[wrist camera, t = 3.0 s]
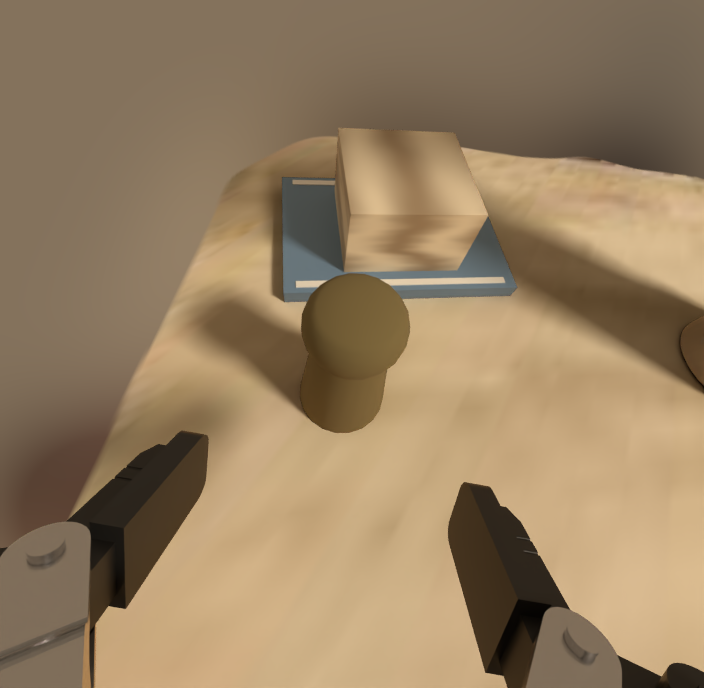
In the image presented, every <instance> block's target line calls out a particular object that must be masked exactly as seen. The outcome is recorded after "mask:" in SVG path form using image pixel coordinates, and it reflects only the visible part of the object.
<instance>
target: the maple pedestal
mask: <svg viewBox="0 0 704 688" xmlns="http://www.w3.org/2000/svg"><path fill="white" fill-rule="evenodd" d="M335 200H336V209H337V217H338V226H339V234H340V243H341V251H342V260H343V268H344V272H390V271H451V270H458V268H459V266H460V265H461V263H462V261H463V259H464V257H465V256H466V254H467V252H468V250H469V249H470V247H471V245H472V243H473V242H474V240H475V238H476V236H477V235H478V233H479V231H480V229H481V228H482V226H483V224H484V222H485V221H486V219H487V217H488V213H487V210H486V208H485V205H484V203H483V201H482V198H481V196H480V193H479V191H478V188H477V186H476V184H475V181H474V179H473V176H472V174H471V171H470V169H469V167H468V164H467V162H466V159H465V157H464V155H463V152H462V150H461V147H460V145H459V143H458V140H457V138H456V135H455V133H447V132H423V131H400V130H377V129H352V128H338V142H337V159H336V175H335Z"/></svg>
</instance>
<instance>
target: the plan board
mask: <svg viewBox="0 0 704 688" xmlns="http://www.w3.org/2000/svg"><path fill="white" fill-rule="evenodd" d="M282 215H283V294H284V301H285V302H302V301H308V299H309V297H310V295H311V294H312V293H313V292H314V291H315V290H316V289H317V288H318V287H319V286H320V285H321V284H323V283H324V282H326V281H328V280H330V279H332V278H334V277H335V276H339V275H344V274H348V273H358V274H366V275H370V276H373V277H377V278H379V279H380V280H382V281H384V282H385V283H387V284H389V285H390V286H391V287H392V288H393V289H394V290H395V291H396V292H397V293H398V294H399V295H400V297H401V298H402V299H409V298H445V297H480V296H510V295H511V294H512V293H513V292H514V291H515V289H516V288H517V286H516V283H515V281H514V278H513V276H512V273H511V271H510V269H509V266H508V264H507V261H506V259H505V256H504V254H503V252H502V249H501V247H500V244H499V242H498V239H497V237H496V234H495V232H494V230H493V227H492V225H491V222H490V220H489V217H487V219H486V221H485V222H484V224H483V226H482V228H481V229H480V231H479V233H478V235H477V236H476V238H475V240H474V242H473V243H472V245H471V247H470V249H469V250H468V252H467V254H466V256H465V257H464V259H463V261H462V263H461V265H460V266H459V268H458V270H451V271H390V272H344V268H343V260H342V251H341V243H340V234H339V226H338V217H337V209H336V200H335V178H297V177H282Z"/></svg>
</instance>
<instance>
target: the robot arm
mask: <svg viewBox="0 0 704 688" xmlns="http://www.w3.org/2000/svg"><path fill="white" fill-rule="evenodd" d="M680 341H681V350H682V353H683V356H684V359H685V360H686V362H687V364H688V366H689V368H690V369H691V371H692V372H693V374H694V375H695V376H696V378H697V379H698V380H699V381H700V382H701V383H702V384H703V385H704V316H702V317H700V318H698V319H697V320H695V321H693V322H691V323H690V324H688V325H687V326H686V327H685V328H684V330H683V331H682V334H681V338H680ZM207 457H208V436H207V435H204V434H198V433H193V432H187V431H180V432H179V433H178V434H177V435H176V436H175V437H174V438H173V439H172V440H171V441H170V442H169V443H168V444H167V445H160V444H158V445H156V446H154V447H152V448H150V449H148V450H146V451H144V452H142V453H140V454H139V455H138V456H137V457H136V458H135V459H134V460H133V461H131V462H130V463H129V464H128V465H127V467H126V468H124V469H123V470H122V471H121V472H119V473H118V474H117V475H116V476H115V479H112V480H111V481H110V482H109V483H108V484H106V485H105V486H104V487H103V488H102V489H101V490H100V491H99V492H98V493H97V494H96V495H95V496H93V497H92V498H91V499H90V500H89V501H88V502H87V503H86V504H85V505H84V506H83V507H81V508H80V509H79V510H78V511H77V512H76V513H75V514H74V515H73V516H72V517H71V518H70V519H68V520H67V521H66V522H58V523H53V524H49V525H46V526H43V527H40V528H38V529H35V530H33V531H31V532H29V533H27V534H26V535H24V536H22V537H20V538H19V539H18V540H17V541H15V542H14V543H12V545H10V546H9V547H7V548H0V688H95V667H96V622H97V621H98V620H99V618H100V617H101V615H102V614H103V613H104V611H105V610H106V608H107V607H108V606H112V607H118V608H124V609H126V608H127V606H128V605H129V603H130V602H131V600H132V599H133V597H134V596H135V594H136V593H137V591H138V590H139V588H140V587H141V585H142V584H143V582H144V580H145V579H146V577H147V576H148V574H149V573H150V571H151V570H152V568H153V567H154V565H155V564H156V562H157V561H158V559H159V558H160V556H161V555H162V553H163V552H164V550H165V549H166V547H167V546H168V544H169V543H170V541H171V540H172V538H173V537H174V535H175V534H176V532H177V531H178V529H179V527H180V526H181V524H182V523H183V521H184V520H185V518H186V517H187V515H188V514H189V512H190V511H191V509H192V508H193V506H194V505H195V503H196V502H197V500H198V499H199V497H200V495H201V493H202V490H203V488H204V485H205V481H206V472H207ZM448 540H449V545H450V548H451V552H452V555H453V559H454V563H455V566H456V570H457V573H458V577H459V580H460V584H461V587H462V591H463V595H464V598H465V602H466V605H467V609H468V612H469V616H470V620H471V623H472V627H473V630H474V634H475V637H476V641H477V644H478V648H479V652H480V655H481V659H482V662H483V666H484V669H485V673H490V674H496V675H502V676H504V678H505V681H506V684H507V687H508V688H704V672H702V671H700V670H698V669H696V668H694V667H692V666H689V665H686V664H682V663H673V664H671V665H670V666H669V667H668V668H667V670H666V671H665V673H664V674H663V676H662V677H661V676H659V675H657V674H655V673H653V672H651V671H649V670H647V669H645V668H643V667H641V666H639V665H636V664H634V663H632V662H630V661H628V660H626V659H624V658H622V657H620V656H618V655H617V654H616V652H615V650H614V649H613V647H612V645H611V644H610V643H609V641H608V640H607V639H606V637H605V636H604V635H603V634H602V633H601V632H600V631H599V630H598V629H597V628H596V627H595V626H594V625H593V624H592V623H590V622H589V621H588V620H587V619H585V618H584V617H582V616H581V615H579V614H577V613H575V612H573V611H571V610H570V609H569V607H568V605H567V603H566V602H565V600H564V598H563V596H562V594H561V593H560V591H559V589H558V587H557V586H556V584H555V582H554V580H553V578H552V577H551V575H550V573H549V571H548V570H547V568H546V566H545V564H544V562H543V561H542V559H541V557H540V556H538V552H537V550H536V548H535V546H534V545H533V543H532V542H531V541H530V538H529V536H528V534H527V532H526V530H525V529H524V527H523V525H522V523H521V522H520V521H519V520H518V519H517V518H516V517H515V516H514V515H513V514H512V513H511V511H510V510H509V509H508V508H507V507H502V506H500V504H499V502H498V500H497V498H496V496H495V495H494V493H493V491H492V489H491V488H490V487H489V486H483V485H478V484H472V483H467V482H464V483H463V484H462V485H461V487H460V490H459V493H458V496H457V499H456V502H455V505H454V508H453V511H452V515H451V518H450V521H449V526H448Z"/></svg>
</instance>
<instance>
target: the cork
mask: <svg viewBox="0 0 704 688" xmlns="http://www.w3.org/2000/svg"><path fill="white" fill-rule="evenodd" d="M301 331H302V337H303V340H304V343H305V346H306V349H307V351H308V352H309V355H308V359H307V363H306V367H305V370H304V374H303V378H302V381H301V386H300V399H301V403H302V406H303V409H304V411H305V412H306V414H307V415H308V417H309V418H310V419H311V421H313V422H314V423H315V424H317V425H318V426H319V427H321V428H322V429H325V430H328V431H331V432H335V433H350V432H353V431H356V430H359V429H362V428H363V427H364V426H366V425H367V424H368V423H370V422H371V421H372V420H373V419H374V417H375V416H376V414H377V413H378V411H379V410H380V406H381V402H382V398H383V392H384V386H385V379H386V373H387V369H388V368H390V367H391V366H392V365H394V364H395V363H396V361H397V360H398V358H399V357H400V355H401V354H402V353H403V351H404V349H405V348H406V345H407V341H408V337H409V333H410V322H409V314H408V310H407V308H406V306H405V304H404V302H403V300H402V298H401V297H400V295H399V294H398V293H397V292H396V291H395V290H394V289H393V288H392V287H391V286H390V285H389V284H387V283H385V282H384V281H382V280H380V279H379V278H377V277H373V276H370V275H366V274H358V273H348V274H344V275H339V276H335V277H334V278H332V279H330V280H328V281H326V282H324V283H323V284H321V285H320V286H319V287H318V288H317V289H316V290H315V291H314V292H313V293H312V294H311V295H310V297H309V299H308V301H307V304H306V306H305V308H304V311H303V313H302V324H301Z"/></svg>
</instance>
